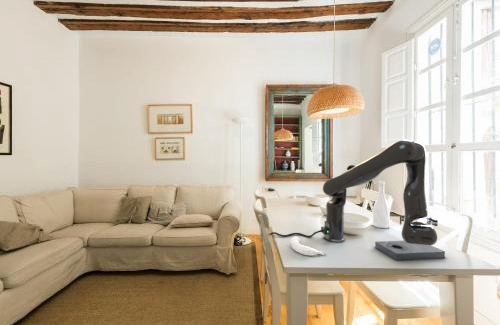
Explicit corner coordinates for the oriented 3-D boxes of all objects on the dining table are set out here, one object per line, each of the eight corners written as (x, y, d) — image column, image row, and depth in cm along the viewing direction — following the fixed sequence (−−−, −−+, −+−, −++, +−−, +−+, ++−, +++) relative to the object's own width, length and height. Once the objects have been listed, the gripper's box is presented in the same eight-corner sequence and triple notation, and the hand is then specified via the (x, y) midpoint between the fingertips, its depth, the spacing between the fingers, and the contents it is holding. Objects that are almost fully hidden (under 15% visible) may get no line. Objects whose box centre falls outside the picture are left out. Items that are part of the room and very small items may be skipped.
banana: (288, 240, 121) (316, 241, 120) (292, 258, 102) (325, 259, 101) (288, 232, 121) (316, 233, 120) (293, 248, 102) (326, 249, 101)
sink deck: (396, 260, 99) (396, 253, 99) (375, 247, 113) (375, 241, 113) (444, 257, 102) (444, 251, 102) (418, 245, 116) (418, 239, 116)
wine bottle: (369, 224, 152) (370, 180, 152) (382, 224, 153) (383, 180, 153) (378, 228, 143) (380, 182, 142) (392, 228, 144) (393, 182, 143)
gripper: (440, 218, 92) (437, 210, 106) (399, 213, 101) (401, 206, 114) (440, 236, 92) (437, 226, 106) (398, 229, 101) (401, 221, 114)
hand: (418, 216), depth 110 cm, fingers closed on plug, 4 cm apart
